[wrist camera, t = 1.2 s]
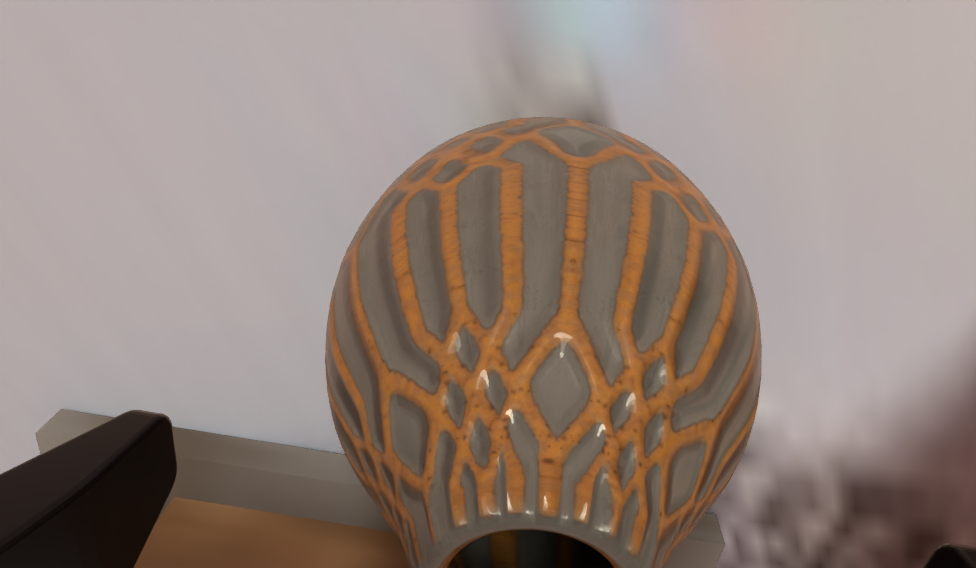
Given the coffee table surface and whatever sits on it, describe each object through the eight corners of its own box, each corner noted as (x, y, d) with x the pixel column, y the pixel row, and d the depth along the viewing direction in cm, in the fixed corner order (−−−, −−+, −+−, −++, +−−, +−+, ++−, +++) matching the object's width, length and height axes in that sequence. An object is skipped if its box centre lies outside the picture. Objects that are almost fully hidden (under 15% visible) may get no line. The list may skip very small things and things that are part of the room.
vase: (741, 105, 12) (1059, 362, 5) (661, 390, 16) (772, 821, 8) (390, 63, 13) (140, 245, 5) (382, 354, 16) (223, 740, 8)
